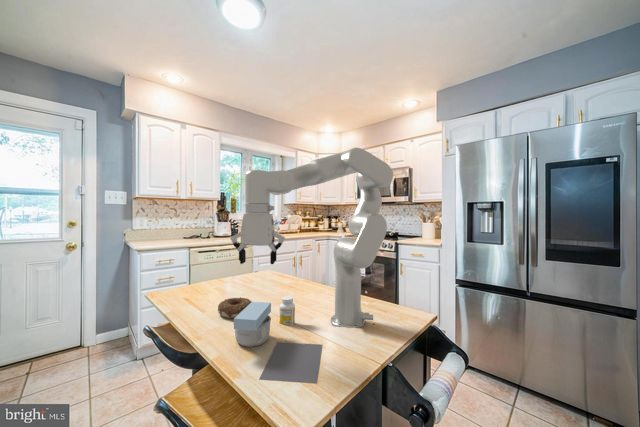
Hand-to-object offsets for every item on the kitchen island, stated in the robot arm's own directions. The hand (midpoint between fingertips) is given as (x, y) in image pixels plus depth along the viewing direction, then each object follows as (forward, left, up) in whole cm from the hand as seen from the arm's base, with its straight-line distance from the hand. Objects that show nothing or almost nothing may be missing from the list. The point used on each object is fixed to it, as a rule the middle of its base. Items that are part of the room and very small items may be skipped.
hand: (257, 263), depth 84 cm
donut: (+15, -20, -25) cm, 36 cm away
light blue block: (0, +3, -17) cm, 17 cm away
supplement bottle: (-7, -12, -25) cm, 29 cm away
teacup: (0, +3, -25) cm, 25 cm away
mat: (-14, +12, -25) cm, 31 cm away
